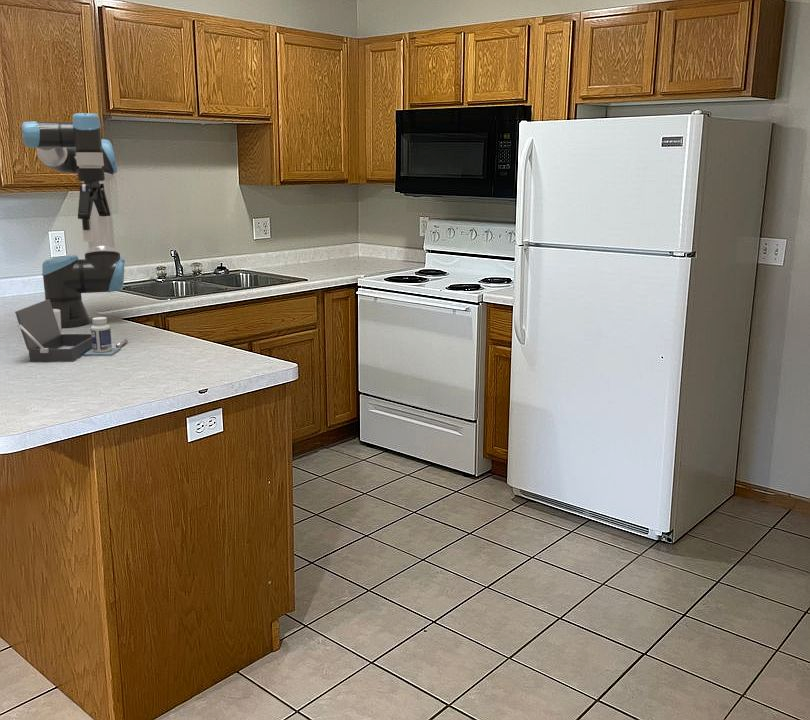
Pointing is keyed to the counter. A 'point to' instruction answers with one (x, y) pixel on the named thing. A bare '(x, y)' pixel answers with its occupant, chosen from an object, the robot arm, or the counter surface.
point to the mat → (109, 353)
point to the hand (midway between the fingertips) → (96, 239)
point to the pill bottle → (101, 335)
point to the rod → (122, 343)
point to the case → (49, 335)
